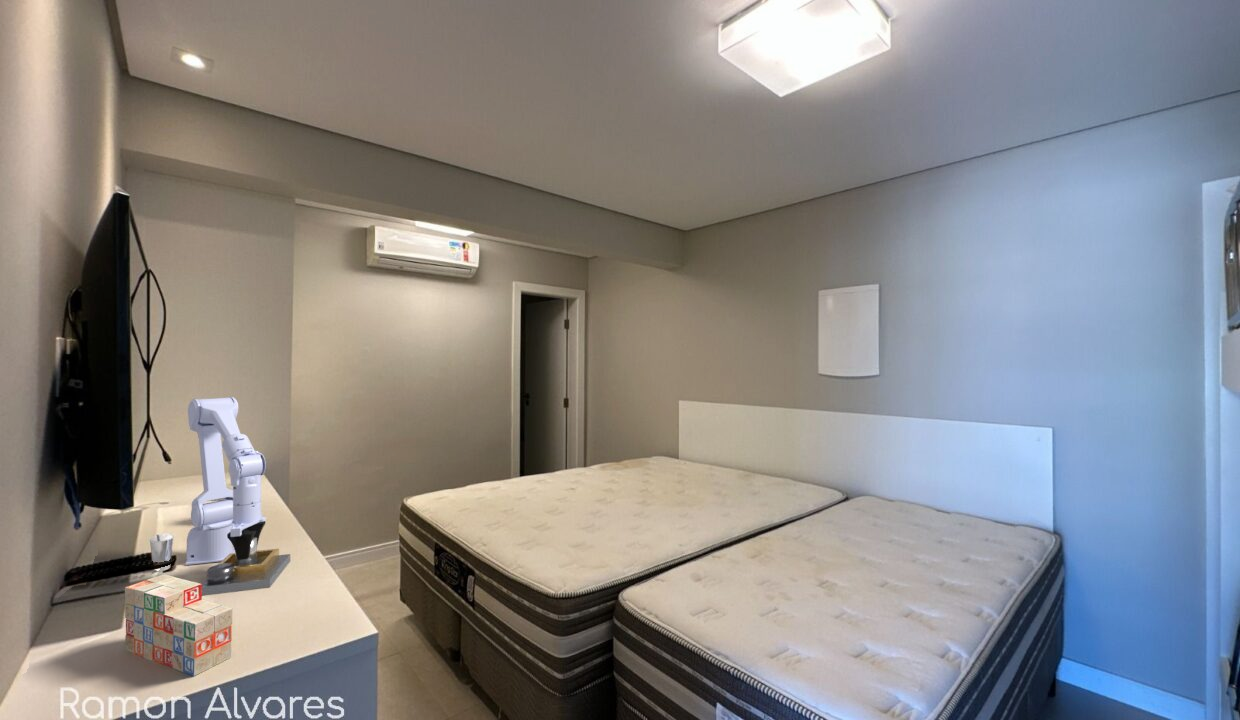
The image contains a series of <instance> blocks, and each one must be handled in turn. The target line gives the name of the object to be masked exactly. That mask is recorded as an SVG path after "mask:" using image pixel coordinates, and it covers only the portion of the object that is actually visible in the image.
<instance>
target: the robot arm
mask: <svg viewBox="0 0 1240 720" xmlns="http://www.w3.org/2000/svg"><path fill="white" fill-rule="evenodd" d="M238 415H239V403H238V400H237V399H236V398H235V396H234V397H233V396H230V397H218V398H217V397H216V398H199V399H197V398H193V399H192V400H191V401H190V402H189V404H188V408H187V417H188V425H189V429H190V431H193V432H196V434H197V437H198V438H197V439H198V444H199V446H198V447H199V453H200V454H199V455H200V464H201V467H200V468H201V474H202V475H201V476H202V485H203V491H202V492H201V493H200V494H199V495H197V496H196V497H195V498H194V499H193V500H192V502H191V511H190V520H191V521H190V522H191V524H192V526H193V527H191V529H189V531H188V533H187V537H186V561H185V566H188V565H189V566H191V565H198V564H199V565H200V564H208V563H209V564H211V563H220V562H221V561H222V560H223V559H224V558H225V557H227V556H228V555H229V554H230V553H236V556H237V559H238V560H242V559H248V557H249V554H250V548H251V543H252V540H253V537H257V545H259V540H260V536H261V533H262V531H263V529H264V527H265V525H266V521H267V516H263V514H262V476H263V475H265V473H266V467H267V463H266V458H265V456H264V454H263V453H261V452H259V451H258V450H255V448H254V447H253V444H252V442H251V441H250V439H249V437H248V435H246V434H244V433H241V430H240V428H239V426H238V422H237V416H238ZM222 439H223V441H222ZM223 451H224V453H223ZM223 454H225V457H226V458H227V460H228V462H229V463H228V475H229V478H230V482H231V486H233V491H232V490H230V489H228V488H226V483H227V482H226V474H225V465H224V456H223ZM217 499H226V500H221V501H212V500H217ZM206 502H207V503H206Z"/></svg>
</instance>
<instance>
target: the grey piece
mask: <svg viewBox="0 0 1240 720" xmlns="http://www.w3.org/2000/svg"><path fill="white" fill-rule="evenodd" d="M290 562H291V553H287V554H280V547H279V548H270V549H260V550H258V549H257V562H256V563H254V564H252V565H243V566H235V553H230V554H229V555H228V556H227V557H225V558H224V559H223V560H222V561H220V562H218V563H217V564H216V565H213V566H210V567H208V568H207V570H206V580H205V581H204V582H203V584H202V583H201V584H202V596H208V595H209V596H210V595H217V594H218V595H219V594H225V593H233V592H241V591H242V592H243V591H251V590H257V589H267V588H271V587H272V585H273V584H274V583H275V581H276V580H277V579H278V578H279V577H280V576H281V574H282V572H283V571H284V570H285V569H286V568H287V567H288V565H289V563H290Z"/></svg>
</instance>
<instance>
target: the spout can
mask: <svg viewBox="0 0 1240 720" xmlns="http://www.w3.org/2000/svg"><path fill="white" fill-rule="evenodd" d="M257 551H258V544H257V537H253V540H252V543H251V548H250V554H249V557H248V559H242V560H238V559H237V556H236V553H235V566H243V565H252V564H254V563H256V562H257Z"/></svg>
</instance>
